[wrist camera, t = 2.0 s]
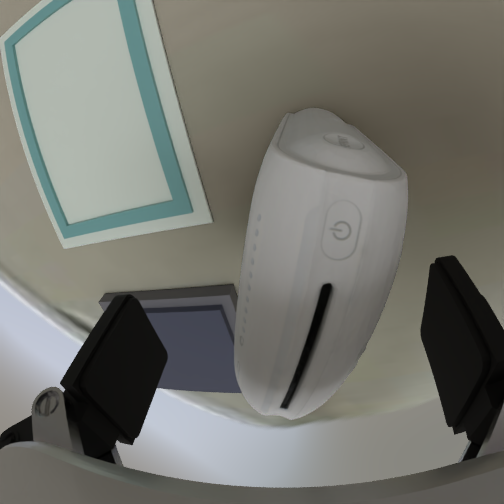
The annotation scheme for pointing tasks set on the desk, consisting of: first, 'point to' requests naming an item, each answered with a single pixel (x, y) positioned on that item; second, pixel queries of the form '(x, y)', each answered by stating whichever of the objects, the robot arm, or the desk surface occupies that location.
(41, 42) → the teal bordered white mat
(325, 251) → the photo printer
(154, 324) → the ink pad
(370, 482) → the robot arm
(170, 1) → the desk surface
